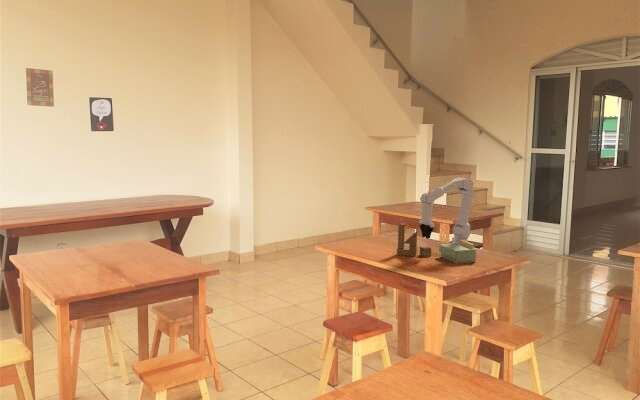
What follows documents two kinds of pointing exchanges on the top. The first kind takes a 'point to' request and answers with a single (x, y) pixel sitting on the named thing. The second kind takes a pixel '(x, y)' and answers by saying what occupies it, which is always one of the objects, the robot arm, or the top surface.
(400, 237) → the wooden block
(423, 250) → the small brown cube
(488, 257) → the top surface
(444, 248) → the lid
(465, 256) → the toolbox
